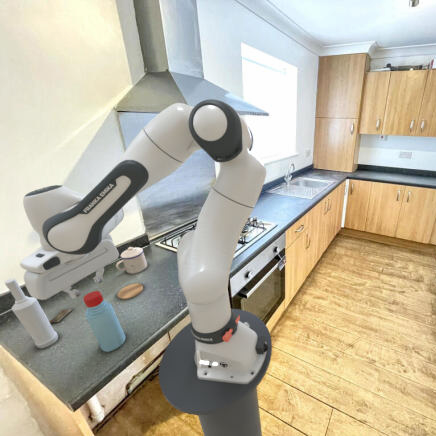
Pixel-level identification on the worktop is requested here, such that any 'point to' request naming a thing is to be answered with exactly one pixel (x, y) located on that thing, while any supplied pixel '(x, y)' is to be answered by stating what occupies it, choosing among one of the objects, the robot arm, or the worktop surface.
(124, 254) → the teacup with lid
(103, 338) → the water bottle
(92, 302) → the cap
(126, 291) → the coaster
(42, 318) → the bottle
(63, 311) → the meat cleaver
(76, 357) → the worktop surface
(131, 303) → the worktop surface
